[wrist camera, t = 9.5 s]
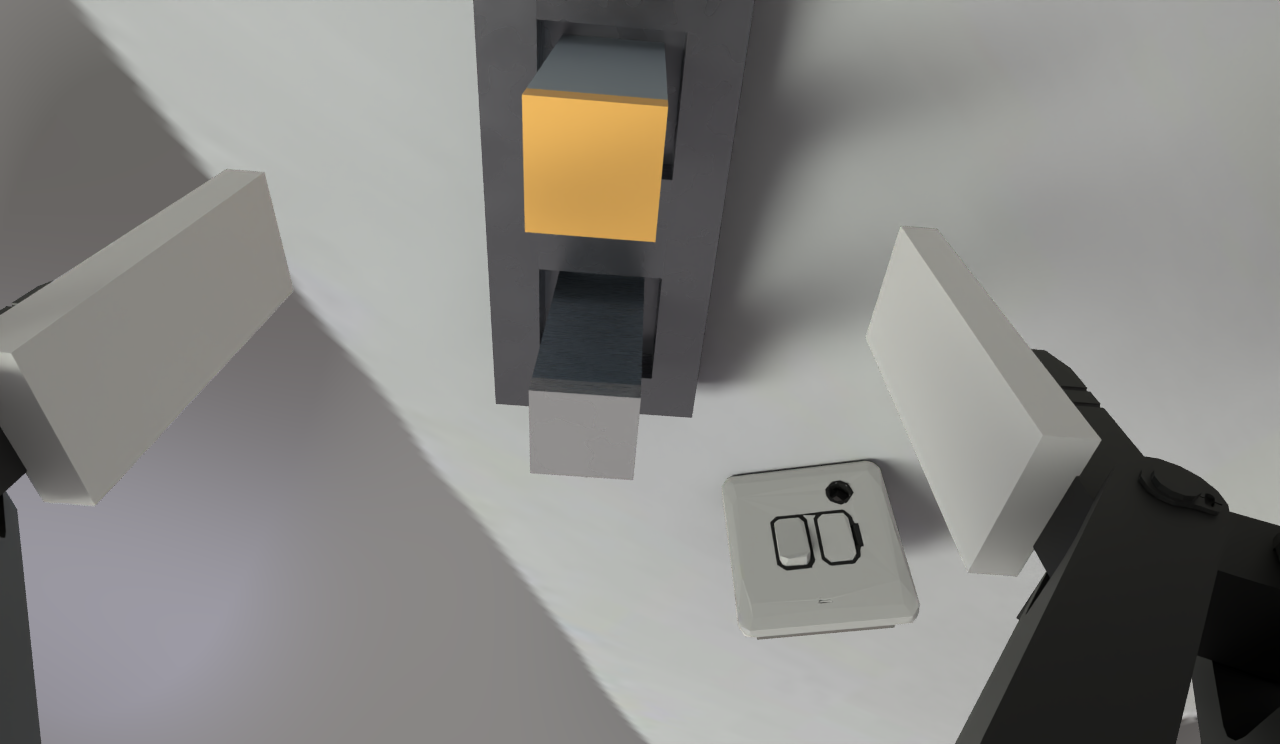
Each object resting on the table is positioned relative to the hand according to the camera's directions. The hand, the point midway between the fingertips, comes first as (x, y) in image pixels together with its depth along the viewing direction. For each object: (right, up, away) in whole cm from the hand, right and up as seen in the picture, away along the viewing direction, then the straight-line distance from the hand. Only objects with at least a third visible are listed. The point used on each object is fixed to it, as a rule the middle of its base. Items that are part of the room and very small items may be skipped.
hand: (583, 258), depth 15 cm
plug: (0, +9, +13) cm, 16 cm away
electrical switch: (+11, -10, +28) cm, 32 cm away
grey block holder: (0, +5, +17) cm, 18 cm away
